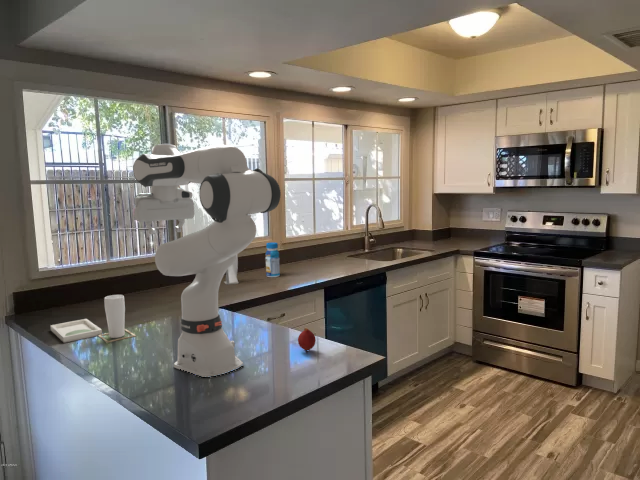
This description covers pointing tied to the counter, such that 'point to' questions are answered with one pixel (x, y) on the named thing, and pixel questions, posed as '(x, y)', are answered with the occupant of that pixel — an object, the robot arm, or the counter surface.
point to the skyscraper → (232, 273)
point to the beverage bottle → (272, 260)
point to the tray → (75, 330)
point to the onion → (306, 339)
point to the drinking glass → (115, 315)
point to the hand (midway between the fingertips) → (165, 232)
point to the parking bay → (116, 339)
